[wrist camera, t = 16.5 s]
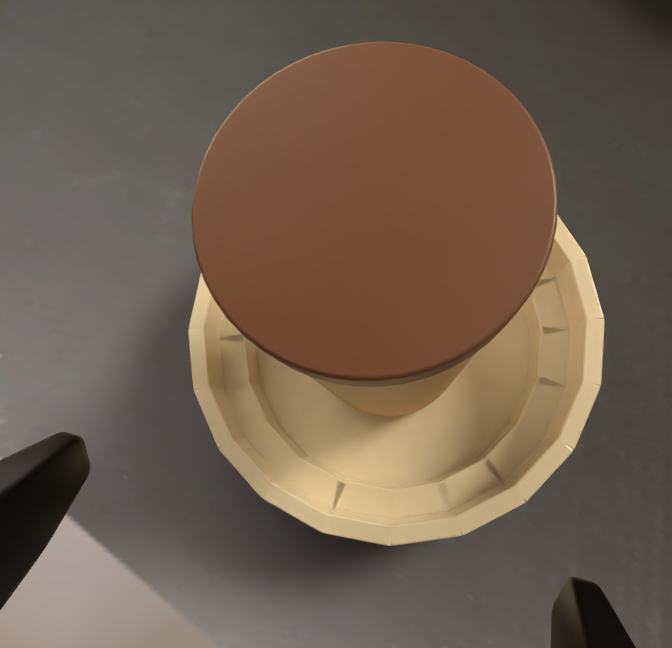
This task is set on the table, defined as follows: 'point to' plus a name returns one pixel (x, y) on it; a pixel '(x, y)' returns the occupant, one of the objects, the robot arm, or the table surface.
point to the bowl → (411, 420)
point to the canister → (375, 219)
